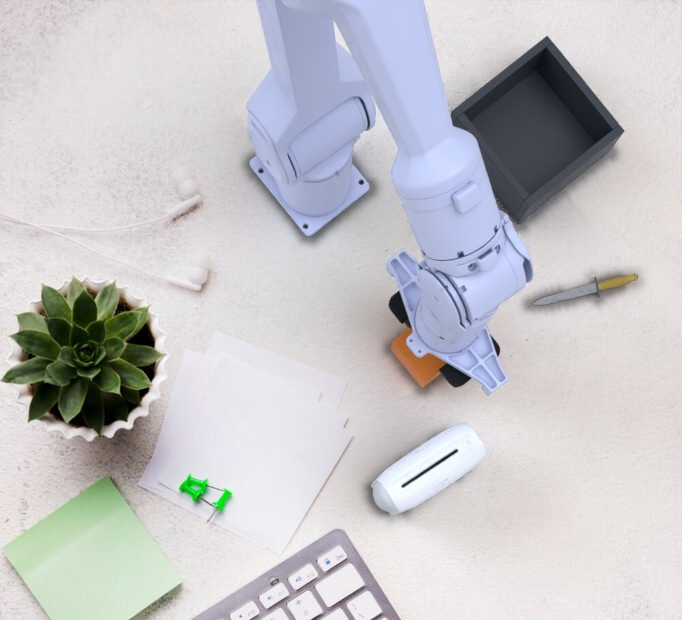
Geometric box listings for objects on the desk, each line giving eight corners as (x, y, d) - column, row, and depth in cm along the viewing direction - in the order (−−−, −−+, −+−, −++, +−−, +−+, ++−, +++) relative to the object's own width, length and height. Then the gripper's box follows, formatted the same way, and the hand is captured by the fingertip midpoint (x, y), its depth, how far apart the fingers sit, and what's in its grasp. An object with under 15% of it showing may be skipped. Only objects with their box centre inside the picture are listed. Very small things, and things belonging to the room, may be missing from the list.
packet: (389, 349, 84) (392, 341, 80) (445, 305, 84) (450, 295, 81) (421, 388, 84) (425, 382, 80) (476, 344, 84) (483, 336, 81)
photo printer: (450, 427, 84) (471, 410, 72) (474, 464, 84) (499, 452, 71) (363, 485, 84) (369, 477, 71) (387, 521, 84) (397, 520, 71)
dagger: (534, 314, 84) (530, 294, 83) (532, 314, 85) (528, 294, 84) (640, 286, 83) (636, 265, 83) (637, 287, 84) (633, 266, 84)
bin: (444, 133, 84) (451, 110, 80) (535, 61, 85) (547, 34, 80) (518, 224, 84) (529, 206, 80) (609, 152, 85) (624, 130, 80)
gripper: (360, 267, 69) (355, 310, 83) (473, 407, 69) (449, 427, 82) (428, 213, 69) (412, 265, 83) (540, 353, 69) (506, 382, 83)
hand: (434, 343), depth 83 cm, fingers closed on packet, 5 cm apart
